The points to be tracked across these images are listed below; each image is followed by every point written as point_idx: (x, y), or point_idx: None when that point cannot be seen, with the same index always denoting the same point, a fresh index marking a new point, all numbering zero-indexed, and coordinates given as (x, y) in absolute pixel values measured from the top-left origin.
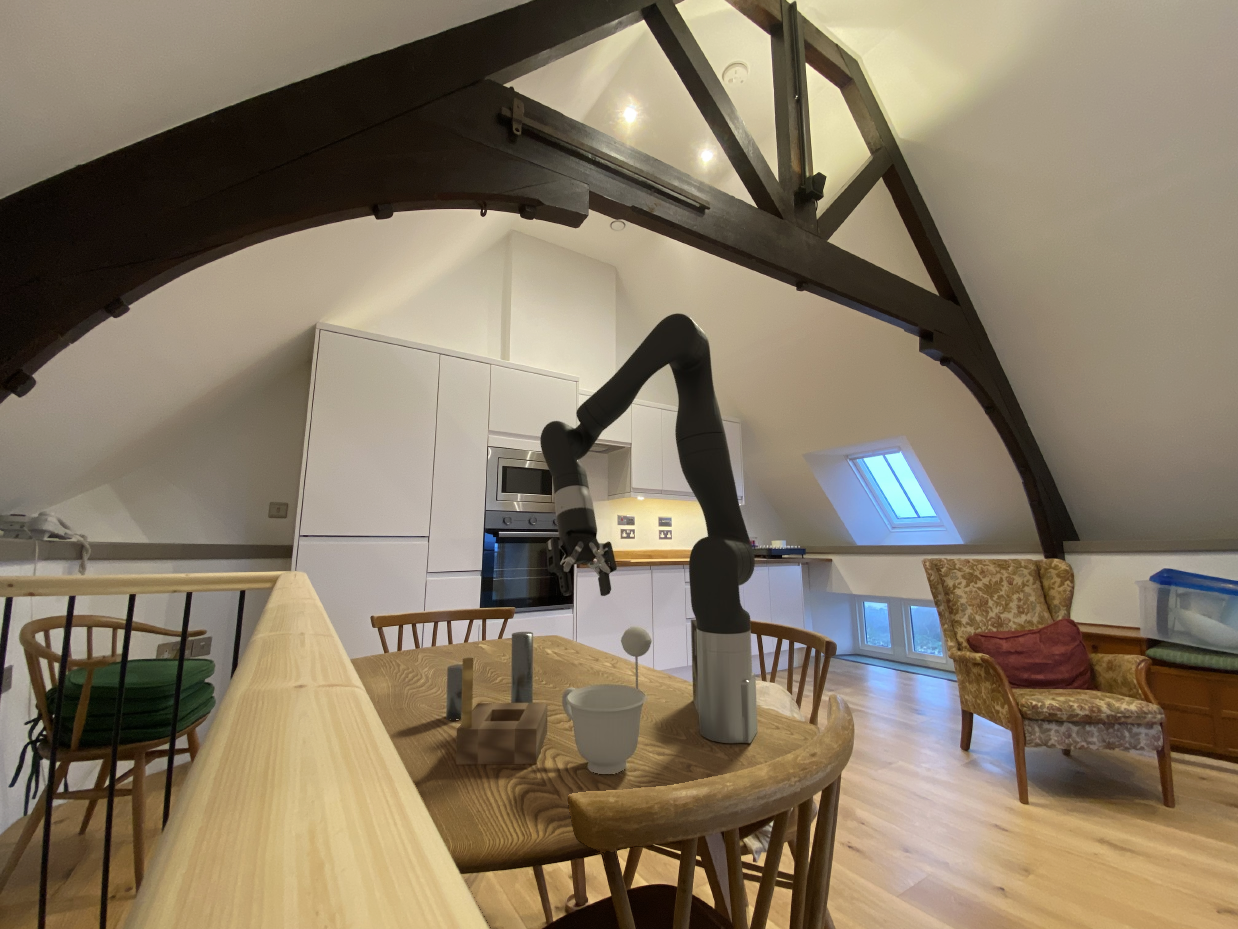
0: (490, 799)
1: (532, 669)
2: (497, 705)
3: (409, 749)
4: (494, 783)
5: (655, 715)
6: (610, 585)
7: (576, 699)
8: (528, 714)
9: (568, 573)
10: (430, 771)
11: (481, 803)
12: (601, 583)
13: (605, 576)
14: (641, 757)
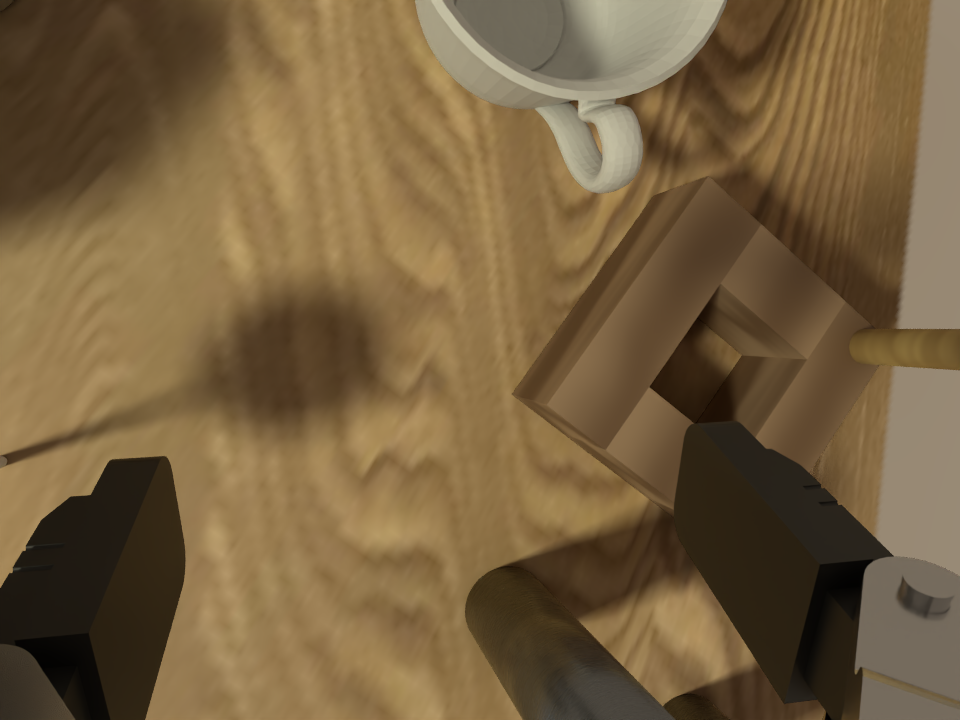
0: (824, 93)
1: (532, 659)
2: None
3: (876, 529)
4: (785, 166)
5: (32, 285)
6: (34, 543)
7: (635, 67)
8: (666, 323)
9: (843, 555)
10: None
11: (846, 91)
12: (143, 637)
13: (92, 597)
14: (368, 2)
